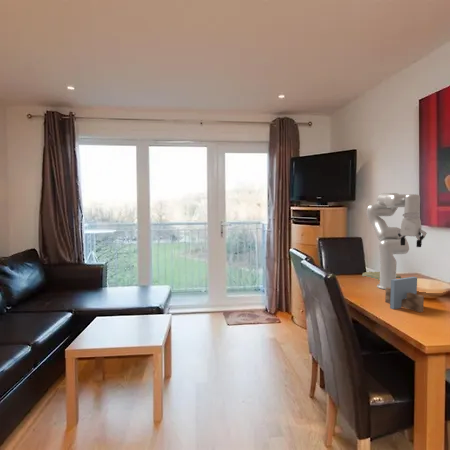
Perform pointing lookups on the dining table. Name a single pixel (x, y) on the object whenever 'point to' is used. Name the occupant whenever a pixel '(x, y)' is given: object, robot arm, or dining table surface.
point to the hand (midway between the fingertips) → (410, 246)
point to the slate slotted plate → (401, 290)
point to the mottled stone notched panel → (408, 301)
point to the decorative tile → (376, 275)
